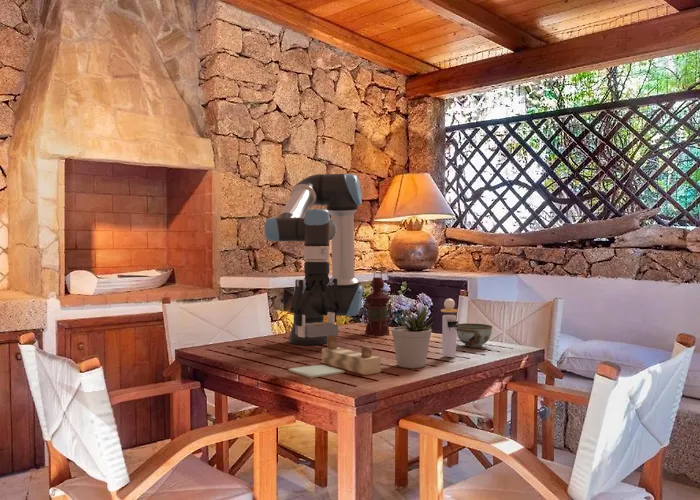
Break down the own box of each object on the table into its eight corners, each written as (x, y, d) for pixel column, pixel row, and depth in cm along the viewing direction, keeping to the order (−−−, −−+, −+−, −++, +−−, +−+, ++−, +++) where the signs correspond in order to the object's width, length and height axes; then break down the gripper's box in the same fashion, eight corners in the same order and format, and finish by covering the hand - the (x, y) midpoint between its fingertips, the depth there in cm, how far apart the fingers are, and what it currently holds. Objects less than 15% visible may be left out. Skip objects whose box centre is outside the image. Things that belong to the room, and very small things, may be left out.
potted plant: (405, 372, 182) (405, 305, 182) (384, 363, 195) (384, 301, 194) (441, 368, 187) (441, 304, 187) (418, 360, 200) (419, 299, 199)
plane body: (321, 362, 195) (321, 333, 195) (336, 360, 199) (336, 331, 199) (365, 374, 178) (365, 342, 178) (380, 372, 182) (380, 340, 181)
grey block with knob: (295, 334, 182) (295, 322, 182) (322, 331, 188) (322, 320, 188) (310, 337, 175) (310, 325, 175) (337, 334, 181) (338, 323, 181)
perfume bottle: (437, 356, 207) (437, 298, 206) (450, 355, 209) (451, 297, 209) (447, 359, 202) (447, 299, 201) (461, 358, 204) (461, 298, 204)
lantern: (382, 337, 248) (382, 264, 248) (357, 334, 255) (357, 263, 255) (396, 333, 259) (397, 263, 258) (372, 331, 265) (372, 262, 265)
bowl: (477, 351, 217) (477, 329, 217) (447, 346, 227) (448, 325, 227) (499, 347, 226) (499, 325, 226) (470, 342, 236) (470, 322, 236)
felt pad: (288, 370, 183) (288, 368, 183) (321, 366, 190) (321, 364, 190) (311, 378, 173) (311, 375, 173) (344, 372, 181) (344, 370, 181)
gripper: (291, 261, 171) (291, 340, 172) (354, 260, 185) (353, 333, 186) (277, 261, 177) (277, 337, 178) (339, 260, 191) (339, 330, 191)
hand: (316, 335), depth 182 cm, fingers closed on grey block with knob, 10 cm apart
